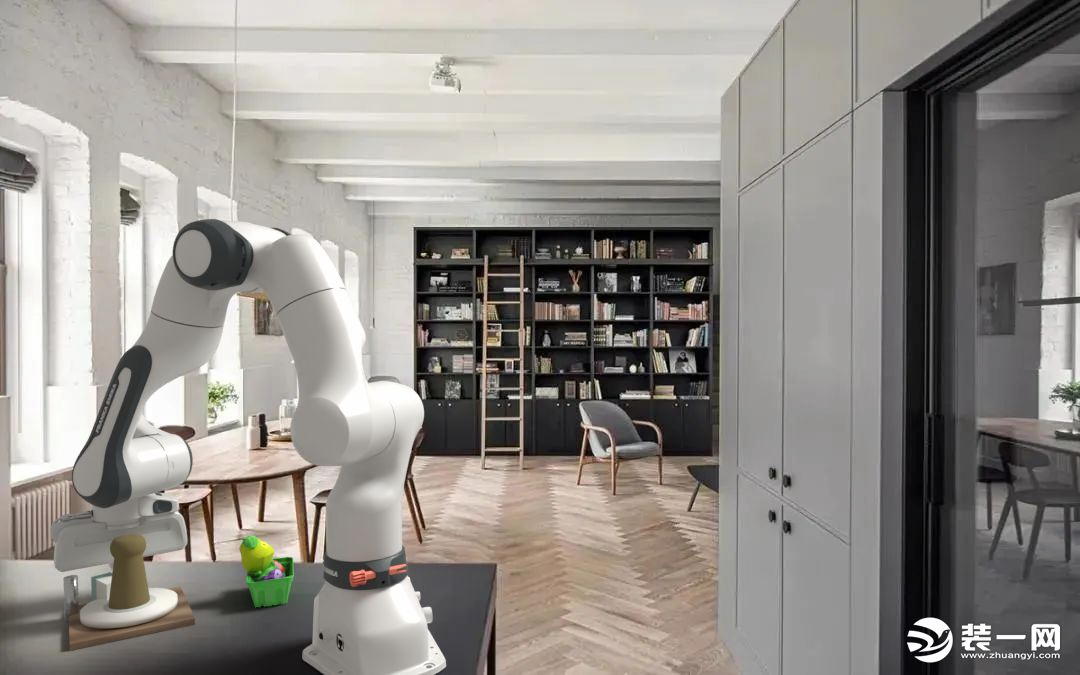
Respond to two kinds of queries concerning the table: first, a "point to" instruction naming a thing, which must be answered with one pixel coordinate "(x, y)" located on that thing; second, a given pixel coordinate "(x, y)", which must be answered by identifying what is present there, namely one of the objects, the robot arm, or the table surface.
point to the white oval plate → (105, 617)
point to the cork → (128, 573)
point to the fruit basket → (266, 572)
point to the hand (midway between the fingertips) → (124, 585)
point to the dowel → (70, 596)
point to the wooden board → (94, 636)
